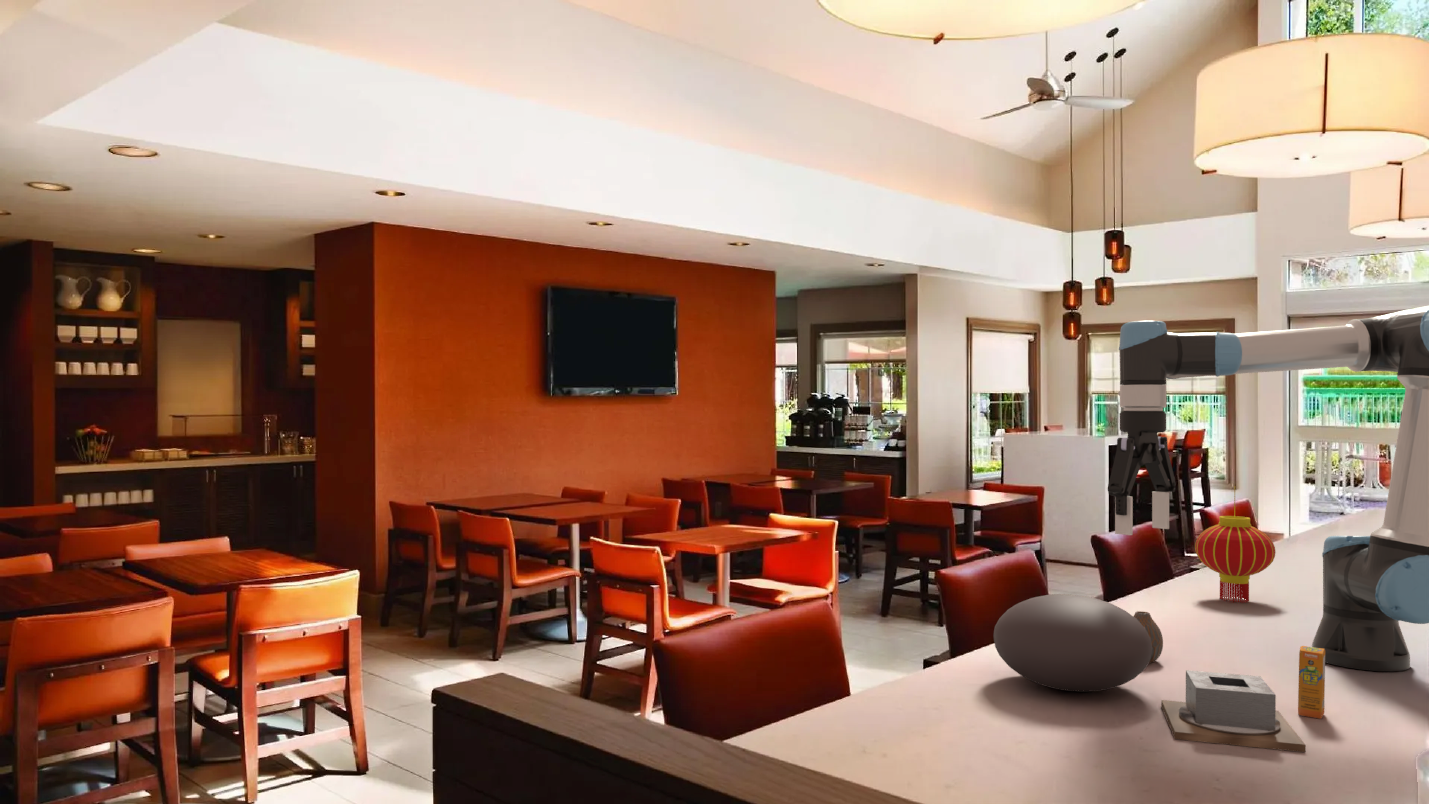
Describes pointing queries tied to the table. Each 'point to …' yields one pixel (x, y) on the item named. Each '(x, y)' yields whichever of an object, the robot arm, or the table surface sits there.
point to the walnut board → (1186, 731)
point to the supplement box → (1311, 682)
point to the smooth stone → (1072, 642)
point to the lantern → (1235, 553)
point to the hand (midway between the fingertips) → (1142, 531)
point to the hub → (1229, 703)
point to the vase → (1151, 633)
